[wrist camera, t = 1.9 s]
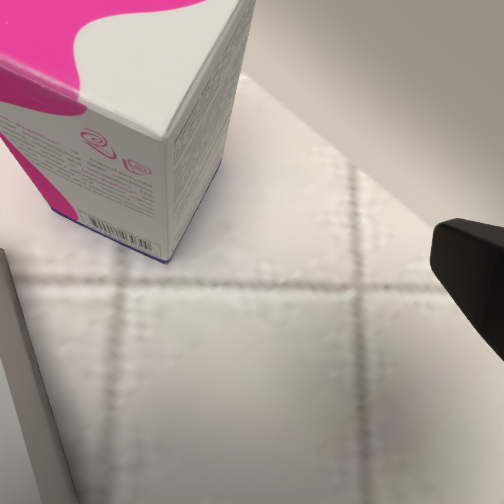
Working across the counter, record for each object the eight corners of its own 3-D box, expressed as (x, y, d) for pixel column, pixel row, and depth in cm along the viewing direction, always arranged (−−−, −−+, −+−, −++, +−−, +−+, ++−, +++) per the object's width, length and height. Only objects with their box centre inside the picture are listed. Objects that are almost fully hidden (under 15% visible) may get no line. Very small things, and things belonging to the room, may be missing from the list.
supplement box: (224, 157, 22) (276, -48, 11) (167, 267, 20) (161, 156, 9) (112, 102, 22) (51, -165, 11) (45, 209, 20) (-107, 24, 9)
